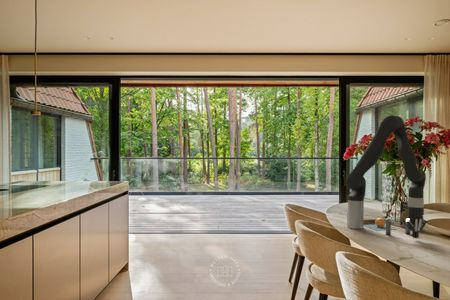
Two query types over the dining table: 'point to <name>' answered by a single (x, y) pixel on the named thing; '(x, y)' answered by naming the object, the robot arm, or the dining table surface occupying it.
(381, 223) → the ball
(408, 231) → the post
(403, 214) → the coffee box
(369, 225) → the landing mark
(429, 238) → the dining table surface
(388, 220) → the post
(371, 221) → the stopper
